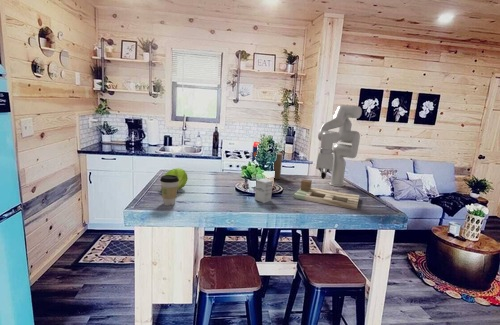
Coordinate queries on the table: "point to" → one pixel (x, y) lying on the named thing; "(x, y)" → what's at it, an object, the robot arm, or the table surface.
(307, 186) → the walnut cube
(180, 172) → the lettuce
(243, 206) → the table surface
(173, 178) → the coffee cup
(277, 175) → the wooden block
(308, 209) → the table surface
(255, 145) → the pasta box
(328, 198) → the board
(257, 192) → the supplement box
